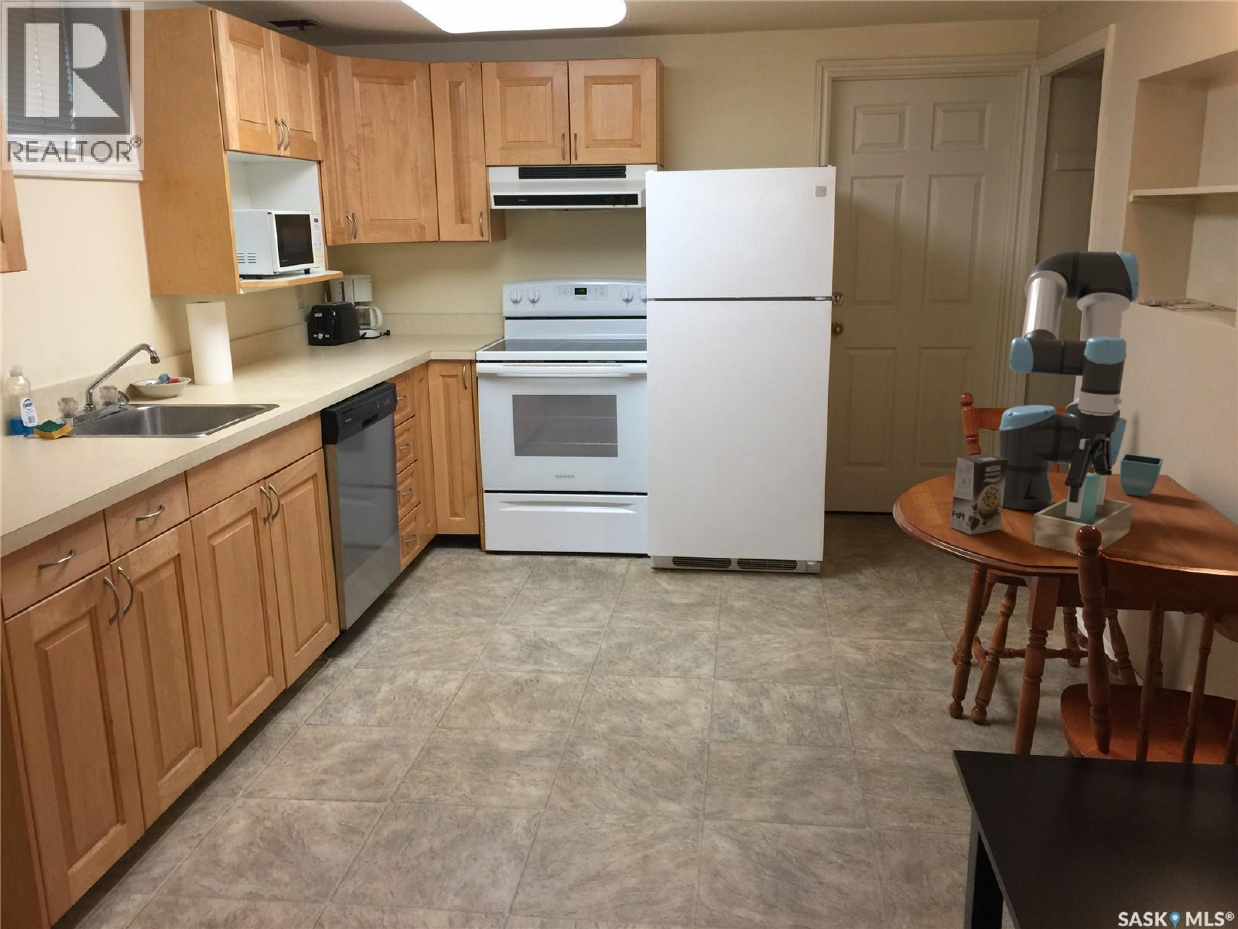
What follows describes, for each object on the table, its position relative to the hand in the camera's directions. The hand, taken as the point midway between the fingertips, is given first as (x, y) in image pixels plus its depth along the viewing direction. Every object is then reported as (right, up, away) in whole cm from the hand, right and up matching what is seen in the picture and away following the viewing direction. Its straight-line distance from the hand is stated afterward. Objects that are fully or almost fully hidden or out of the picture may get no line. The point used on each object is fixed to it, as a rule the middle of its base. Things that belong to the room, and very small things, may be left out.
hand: (1084, 510), depth 210 cm
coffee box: (-21, -5, +7) cm, 22 cm away
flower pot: (+30, +2, +36) cm, 48 cm away
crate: (0, -6, +1) cm, 6 cm away
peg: (0, -6, +1) cm, 6 cm away
